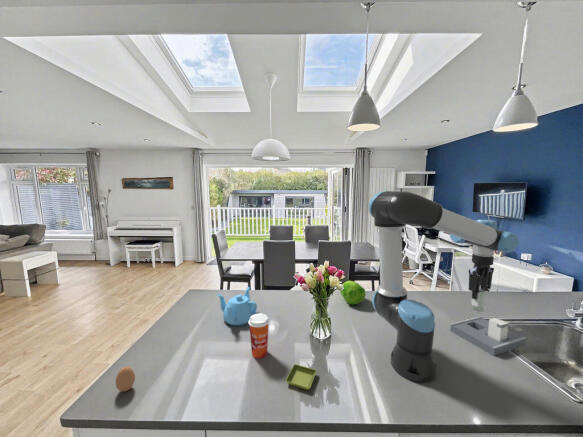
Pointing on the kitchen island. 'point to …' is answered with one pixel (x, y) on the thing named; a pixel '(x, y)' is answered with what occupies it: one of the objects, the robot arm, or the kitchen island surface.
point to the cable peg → (480, 301)
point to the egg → (125, 379)
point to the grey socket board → (485, 336)
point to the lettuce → (353, 292)
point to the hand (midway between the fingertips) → (478, 304)
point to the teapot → (238, 309)
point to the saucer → (301, 376)
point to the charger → (498, 329)
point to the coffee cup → (259, 334)
